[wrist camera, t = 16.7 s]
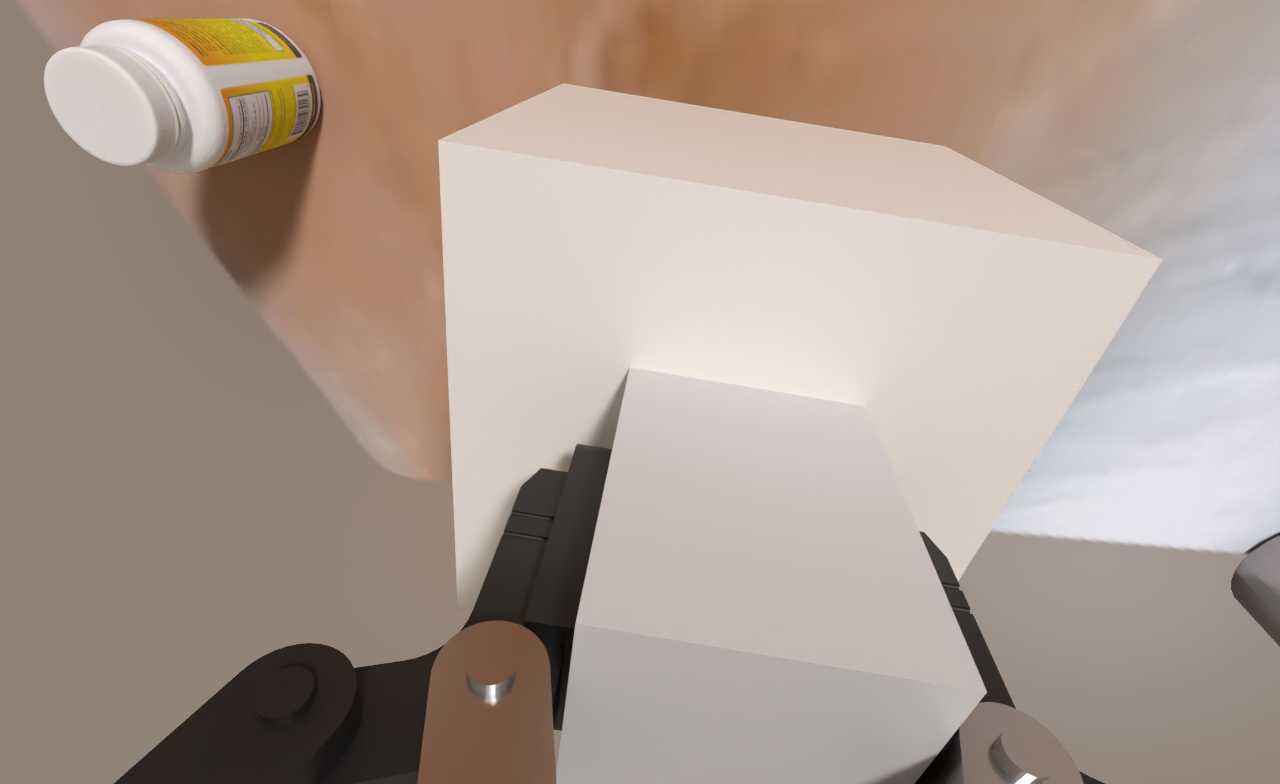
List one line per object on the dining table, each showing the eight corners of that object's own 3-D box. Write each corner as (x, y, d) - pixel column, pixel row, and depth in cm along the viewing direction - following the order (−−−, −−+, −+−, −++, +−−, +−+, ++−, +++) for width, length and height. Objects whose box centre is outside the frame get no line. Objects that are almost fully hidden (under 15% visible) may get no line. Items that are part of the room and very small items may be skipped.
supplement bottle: (193, 33, 29) (-20, 38, 21) (292, 5, 28) (111, 0, 20) (253, 151, 32) (88, 200, 23) (345, 130, 31) (207, 174, 22)
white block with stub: (944, 146, 16) (1641, 509, 4) (826, 449, 21) (979, 975, 10) (563, 83, 16) (164, 264, 4) (544, 402, 21) (348, 870, 10)
